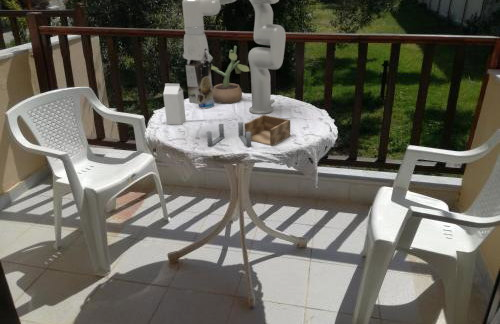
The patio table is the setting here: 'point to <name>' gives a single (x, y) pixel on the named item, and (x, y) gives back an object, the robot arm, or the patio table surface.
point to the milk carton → (174, 104)
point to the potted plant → (228, 90)
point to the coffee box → (198, 84)
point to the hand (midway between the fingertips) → (199, 74)
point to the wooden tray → (268, 129)
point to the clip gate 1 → (221, 133)
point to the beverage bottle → (207, 103)
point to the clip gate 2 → (248, 136)
